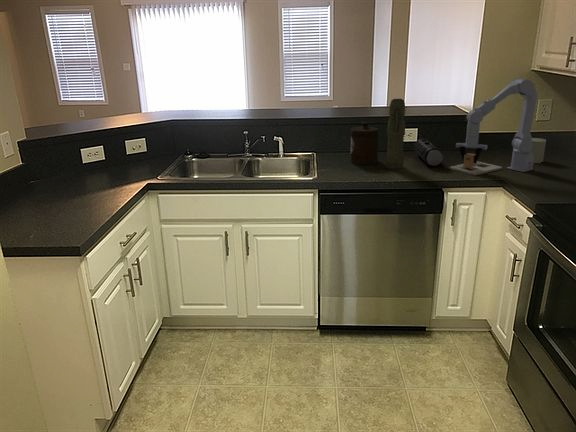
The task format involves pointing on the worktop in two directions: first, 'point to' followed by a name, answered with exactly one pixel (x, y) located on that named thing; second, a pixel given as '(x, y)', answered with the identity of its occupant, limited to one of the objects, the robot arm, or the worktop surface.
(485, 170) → the panel
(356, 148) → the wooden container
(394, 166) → the olive rounded pillar
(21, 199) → the worktop surface
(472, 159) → the plug
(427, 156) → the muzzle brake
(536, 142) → the can
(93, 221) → the worktop surface
